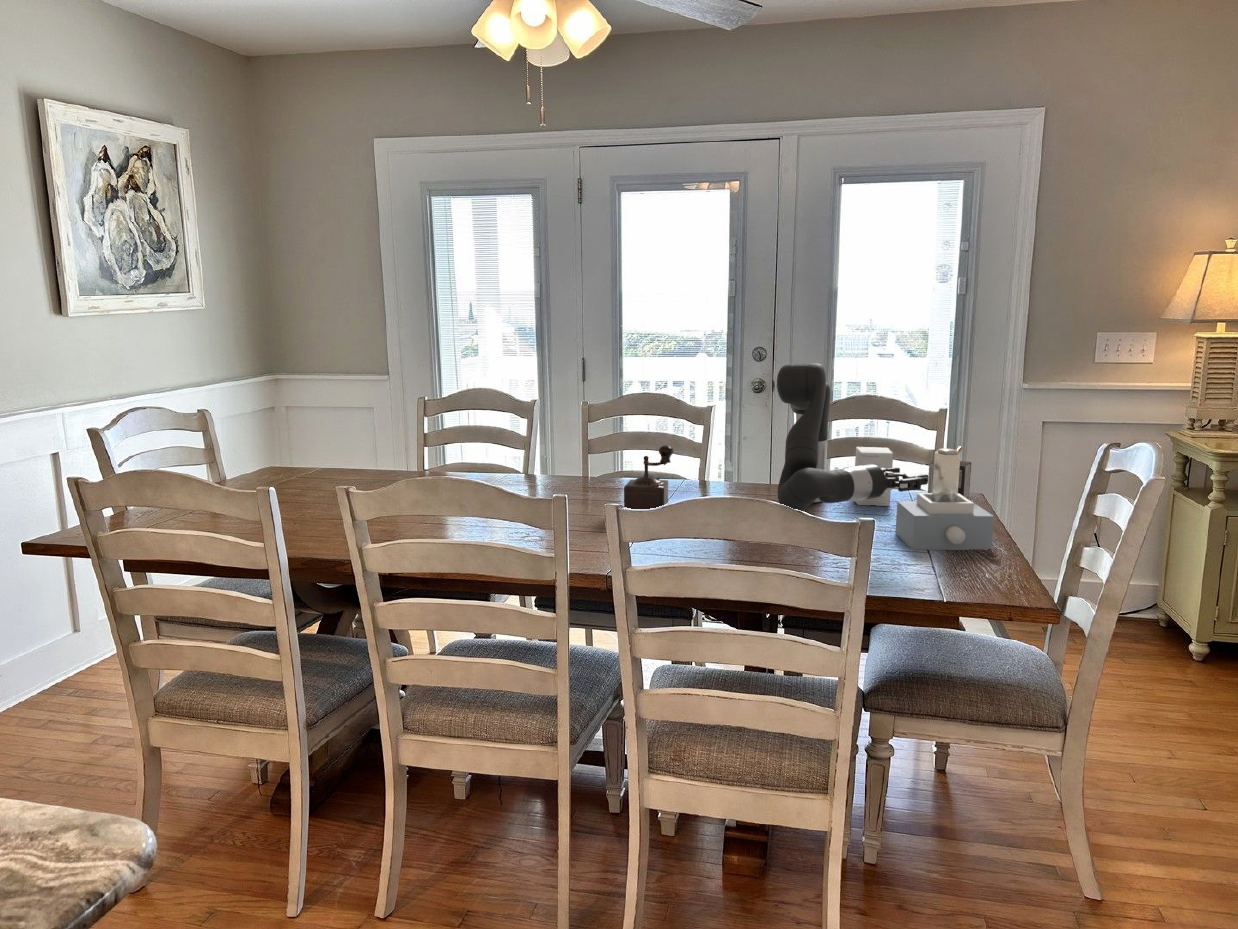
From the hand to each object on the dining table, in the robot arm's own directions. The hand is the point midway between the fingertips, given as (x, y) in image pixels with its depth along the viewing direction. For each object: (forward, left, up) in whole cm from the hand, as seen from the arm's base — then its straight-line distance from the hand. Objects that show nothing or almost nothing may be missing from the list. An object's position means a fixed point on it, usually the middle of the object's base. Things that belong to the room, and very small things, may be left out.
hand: (912, 475), depth 209 cm
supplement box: (+3, +44, -17) cm, 48 cm away
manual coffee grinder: (-59, +27, -17) cm, 68 cm away
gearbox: (+10, +4, -17) cm, 20 cm away
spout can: (+9, +5, -9) cm, 14 cm away
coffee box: (+16, +21, -17) cm, 32 cm away
